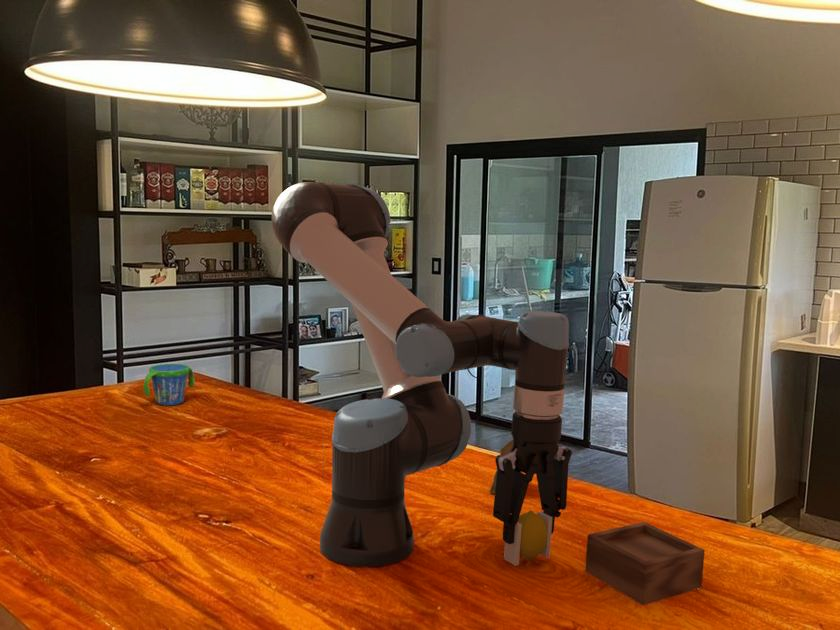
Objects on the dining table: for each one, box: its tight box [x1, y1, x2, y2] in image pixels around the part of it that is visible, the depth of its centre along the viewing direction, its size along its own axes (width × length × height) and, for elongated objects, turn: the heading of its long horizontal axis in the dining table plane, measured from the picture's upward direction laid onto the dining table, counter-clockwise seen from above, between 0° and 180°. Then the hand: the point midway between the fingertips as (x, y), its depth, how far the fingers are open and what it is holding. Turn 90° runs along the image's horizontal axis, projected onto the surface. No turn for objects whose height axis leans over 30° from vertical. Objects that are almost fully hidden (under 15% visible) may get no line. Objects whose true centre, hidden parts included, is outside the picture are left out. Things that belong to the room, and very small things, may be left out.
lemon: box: [518, 510, 547, 562], centre depth 123 cm, size 6×6×8 cm
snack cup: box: [142, 363, 196, 406], centre depth 219 cm, size 16×10×10 cm
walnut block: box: [585, 521, 705, 606], centre depth 119 cm, size 12×12×6 cm
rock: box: [488, 439, 515, 495], centre depth 159 cm, size 11×9×10 cm
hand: (526, 557), depth 123 cm, fingers closed on lemon, 5 cm apart
